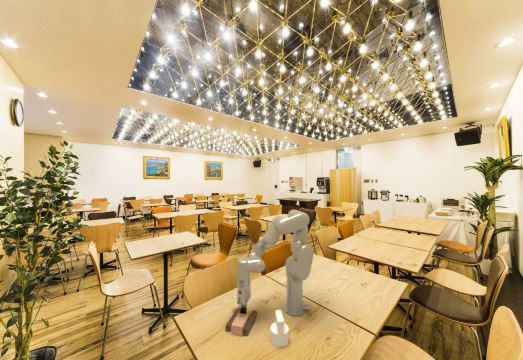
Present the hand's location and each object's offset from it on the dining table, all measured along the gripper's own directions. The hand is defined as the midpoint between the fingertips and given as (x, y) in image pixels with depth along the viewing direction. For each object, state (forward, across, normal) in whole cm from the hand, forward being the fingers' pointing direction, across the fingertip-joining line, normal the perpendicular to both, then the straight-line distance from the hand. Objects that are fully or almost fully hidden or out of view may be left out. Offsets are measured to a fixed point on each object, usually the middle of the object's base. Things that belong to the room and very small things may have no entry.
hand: (243, 313), depth 118 cm
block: (+4, -6, -1) cm, 8 cm away
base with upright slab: (+4, -8, -22) cm, 24 cm away
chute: (+4, -2, 0) cm, 5 cm away
